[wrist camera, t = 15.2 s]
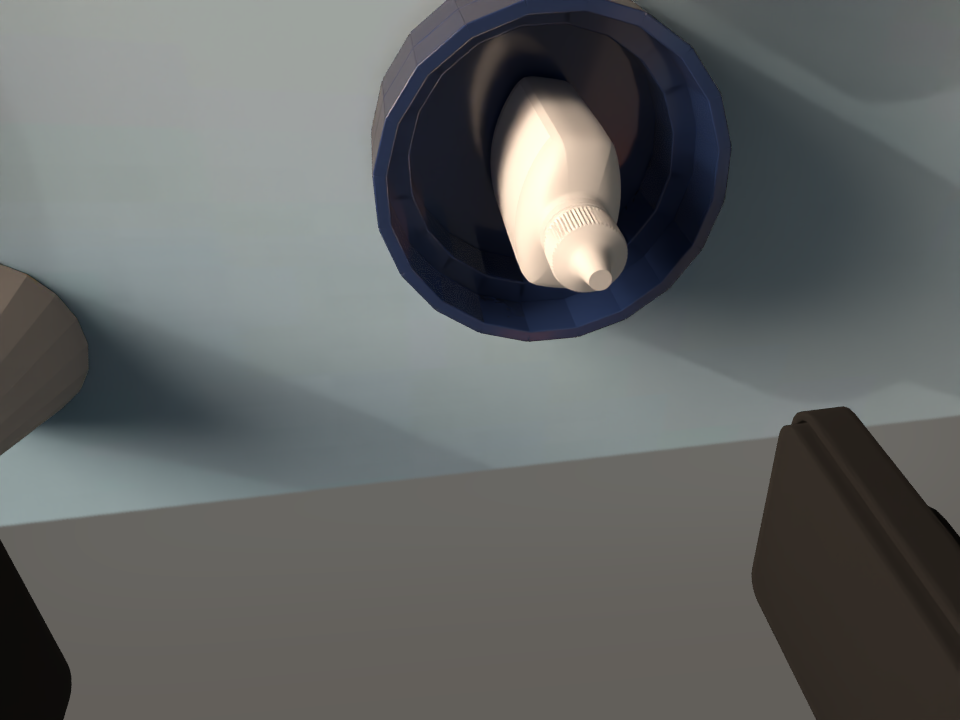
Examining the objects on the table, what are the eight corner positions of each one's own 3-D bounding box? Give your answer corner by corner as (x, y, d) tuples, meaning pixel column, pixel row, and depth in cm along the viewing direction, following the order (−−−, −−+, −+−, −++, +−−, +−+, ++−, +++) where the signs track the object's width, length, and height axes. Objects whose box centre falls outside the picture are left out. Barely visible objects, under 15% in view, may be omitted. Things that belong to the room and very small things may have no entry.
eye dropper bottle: (448, 166, 35) (483, 312, 25) (536, 53, 33) (611, 163, 23) (528, 223, 37) (590, 380, 27) (616, 119, 35) (718, 248, 25)
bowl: (354, -21, 31) (353, 9, 27) (698, -42, 32) (753, -16, 28) (388, 289, 38) (392, 355, 34) (668, 264, 39) (708, 325, 35)
